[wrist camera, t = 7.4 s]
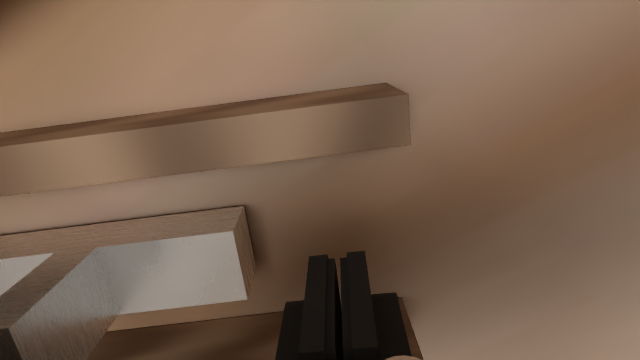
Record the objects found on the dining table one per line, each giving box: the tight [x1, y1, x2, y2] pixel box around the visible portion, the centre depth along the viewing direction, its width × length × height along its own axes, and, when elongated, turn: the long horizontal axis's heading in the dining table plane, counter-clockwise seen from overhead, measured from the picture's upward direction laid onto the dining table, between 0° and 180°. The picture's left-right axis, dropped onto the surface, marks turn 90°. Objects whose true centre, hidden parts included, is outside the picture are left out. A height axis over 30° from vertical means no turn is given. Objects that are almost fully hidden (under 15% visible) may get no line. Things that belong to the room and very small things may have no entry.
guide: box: [0, 83, 423, 360], centre depth 16 cm, size 28×12×5 cm, turn 97°
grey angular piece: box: [0, 206, 256, 360], centre depth 14 cm, size 13×7×8 cm, turn 97°
